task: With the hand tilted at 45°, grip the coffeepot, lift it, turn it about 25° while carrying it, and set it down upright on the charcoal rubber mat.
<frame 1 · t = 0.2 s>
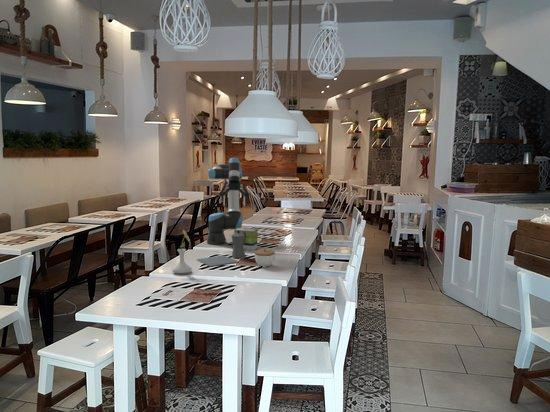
hand: (234, 205, 290), 36 cm above the table, tool tilted 35°, fingers open, 13 cm apart
flower in vase: (182, 272, 256), on the table
lidded bowl: (264, 266, 273), on the table
coffeepot: (239, 256, 297), on the table
mat: (217, 261, 283), on the table
tea box: (245, 248, 320), on the table
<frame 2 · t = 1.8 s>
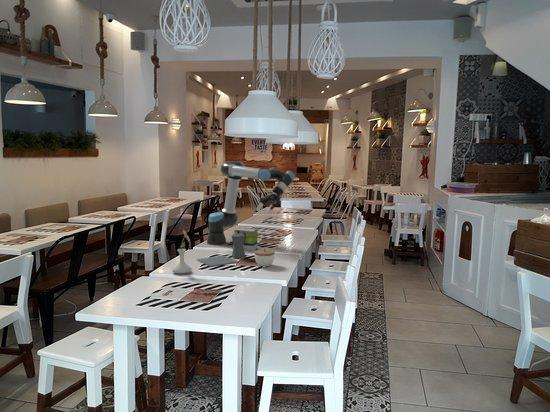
hand: (262, 211, 303), 30 cm above the table, tool tilted 45°, fingers open, 13 cm apart
nothing on the table moved.
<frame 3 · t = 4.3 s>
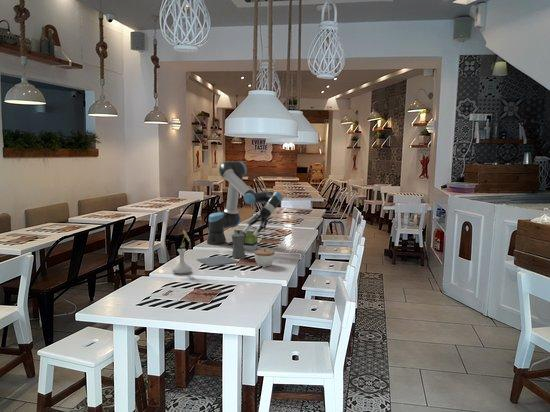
hand: (249, 233, 298), 15 cm above the table, tool tilted 45°, fingers open, 13 cm apart
nothing on the table moved.
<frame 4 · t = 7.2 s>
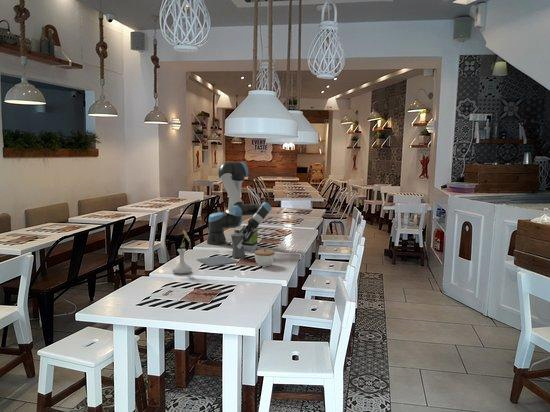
hand: (235, 246, 294), 7 cm above the table, tool tilted 45°, fingers closed on coffeepot, 8 cm apart
coffeepot: (239, 256, 297), on the table, touching gripper
everything else where it was.
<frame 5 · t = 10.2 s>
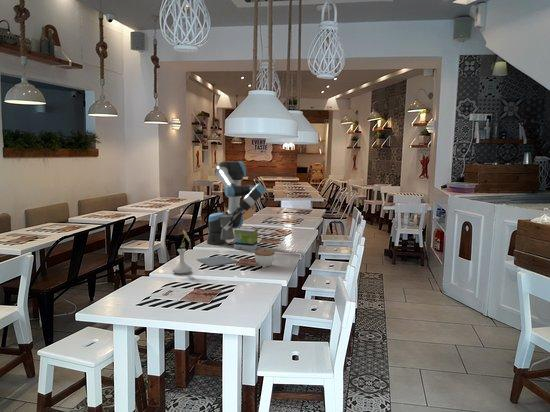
hand: (223, 228, 284), 21 cm above the table, tool tilted 45°, fingers closed on coffeepot, 8 cm apart
coffeepot: (228, 238, 286), point 14 cm above the table, touching gripper
everything else where it was.
when the fingers open (9 cm above the table, at t = 13.6 s): coffeepot drops 1 cm, resting on mat.
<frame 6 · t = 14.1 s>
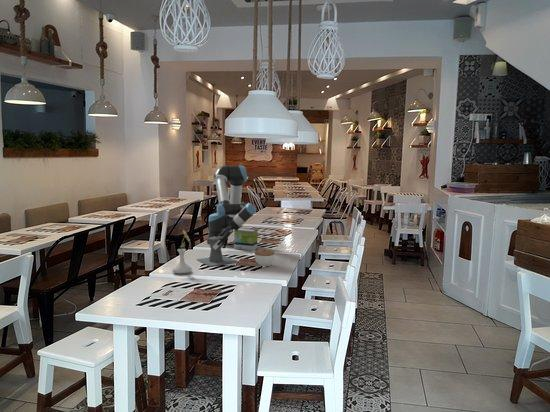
hand: (213, 246, 281), 10 cm above the table, tool tilted 45°, fingers open, 13 cm apart
coffeepot: (217, 260, 283), resting on mat
everything else where it was.
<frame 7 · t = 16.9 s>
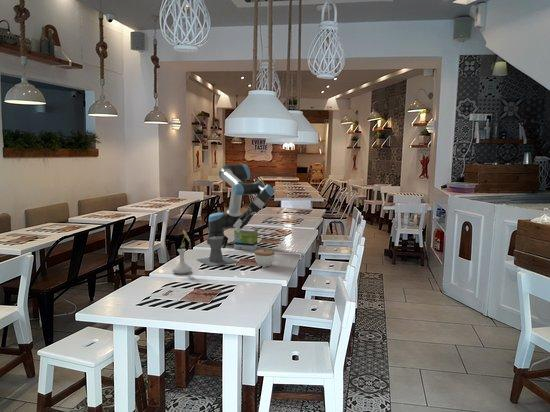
hand: (235, 229, 284), 20 cm above the table, tool tilted 40°, fingers open, 13 cm apart
nothing on the table moved.
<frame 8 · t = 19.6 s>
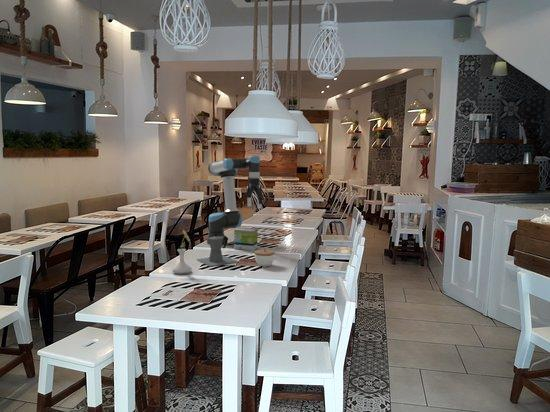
hand: (254, 207, 309), 32 cm above the table, tool pointing down, fingers open, 13 cm apart
nothing on the table moved.
at the end: coffeepot inside the target area on the mat (0.2 cm from its centre), point 0.4 cm above the mat's base; coffeepot tilted 0°; the gripper is holding nothing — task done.
